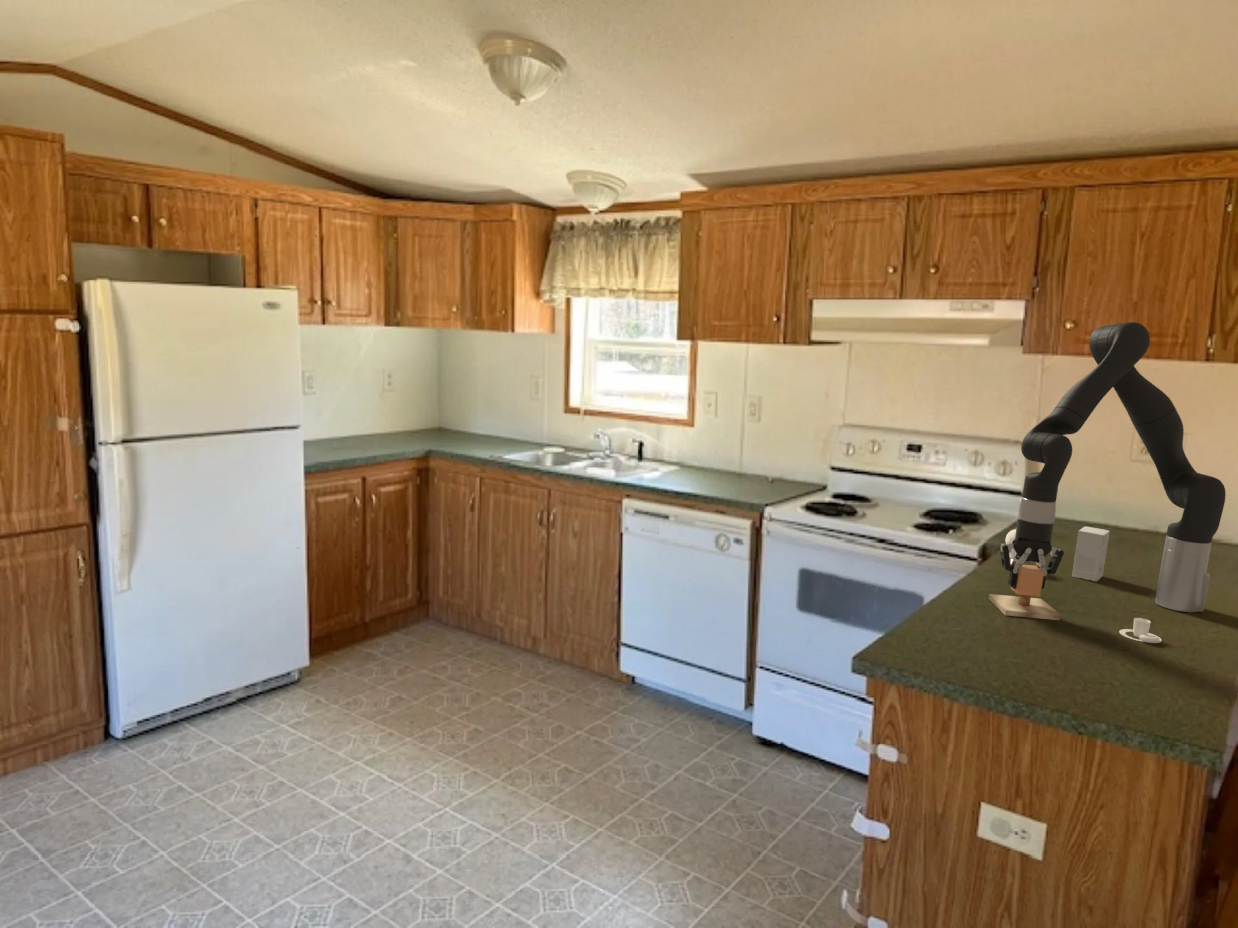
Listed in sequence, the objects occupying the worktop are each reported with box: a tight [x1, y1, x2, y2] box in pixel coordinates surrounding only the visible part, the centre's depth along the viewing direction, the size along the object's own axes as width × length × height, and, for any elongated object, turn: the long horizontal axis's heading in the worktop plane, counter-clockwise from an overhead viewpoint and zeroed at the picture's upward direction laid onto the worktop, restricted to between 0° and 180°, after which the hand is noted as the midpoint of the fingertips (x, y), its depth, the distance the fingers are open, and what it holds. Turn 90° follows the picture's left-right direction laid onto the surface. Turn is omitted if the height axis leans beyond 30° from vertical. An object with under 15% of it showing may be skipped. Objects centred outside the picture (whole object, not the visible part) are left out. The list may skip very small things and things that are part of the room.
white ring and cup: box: [1118, 617, 1162, 644], centre depth 182 cm, size 9×8×4 cm
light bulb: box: [1005, 528, 1016, 565], centre depth 233 cm, size 7×7×11 cm
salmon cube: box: [1010, 564, 1044, 598], centre depth 195 cm, size 5×5×6 cm
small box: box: [1071, 526, 1111, 582], centre depth 228 cm, size 8×6×13 cm
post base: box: [988, 593, 1062, 621], centre depth 196 cm, size 12×12×5 cm
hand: (1025, 588), depth 196 cm, fingers closed on salmon cube, 5 cm apart
